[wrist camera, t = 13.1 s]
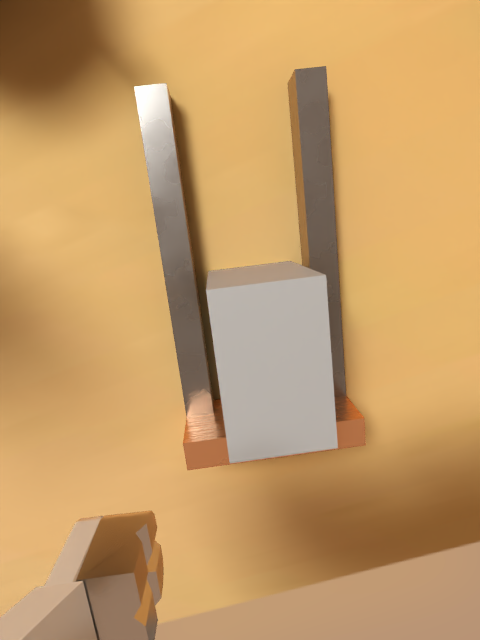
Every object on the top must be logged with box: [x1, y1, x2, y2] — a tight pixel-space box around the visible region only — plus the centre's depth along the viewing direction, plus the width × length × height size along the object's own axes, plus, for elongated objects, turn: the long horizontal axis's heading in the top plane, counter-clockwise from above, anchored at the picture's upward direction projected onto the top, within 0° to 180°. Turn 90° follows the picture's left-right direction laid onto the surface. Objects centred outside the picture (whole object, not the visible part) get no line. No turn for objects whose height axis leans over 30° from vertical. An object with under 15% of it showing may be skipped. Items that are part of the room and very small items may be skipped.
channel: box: [134, 66, 366, 470], centre depth 22 cm, size 10×20×5 cm, turn 7°
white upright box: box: [206, 261, 338, 463], centre depth 21 cm, size 5×8×8 cm, turn 7°
